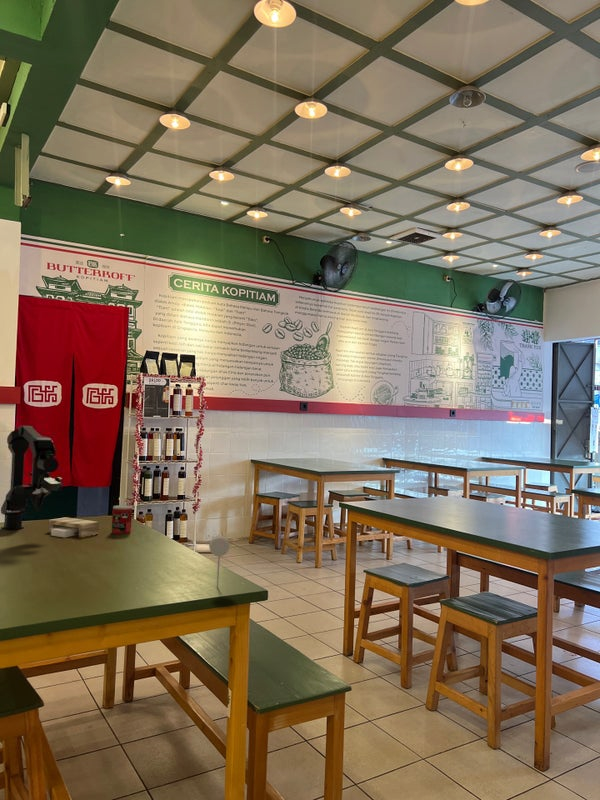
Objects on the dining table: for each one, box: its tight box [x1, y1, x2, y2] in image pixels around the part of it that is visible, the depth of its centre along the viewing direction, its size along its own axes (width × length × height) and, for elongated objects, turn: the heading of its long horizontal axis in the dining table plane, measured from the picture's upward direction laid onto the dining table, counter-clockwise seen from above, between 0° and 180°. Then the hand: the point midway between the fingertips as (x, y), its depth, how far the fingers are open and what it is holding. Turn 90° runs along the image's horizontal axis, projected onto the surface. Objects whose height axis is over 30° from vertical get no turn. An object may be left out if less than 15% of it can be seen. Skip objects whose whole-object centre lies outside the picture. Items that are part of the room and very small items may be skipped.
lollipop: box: [208, 535, 231, 588], centre depth 177 cm, size 6×6×15 cm
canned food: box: [111, 504, 133, 535], centre depth 252 cm, size 8×8×11 cm
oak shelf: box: [48, 517, 100, 538], centre depth 246 cm, size 18×9×5 cm, turn 66°
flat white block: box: [50, 526, 79, 538], centre depth 244 cm, size 7×12×2 cm, turn 156°
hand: (37, 510), depth 232 cm, fingers closed
